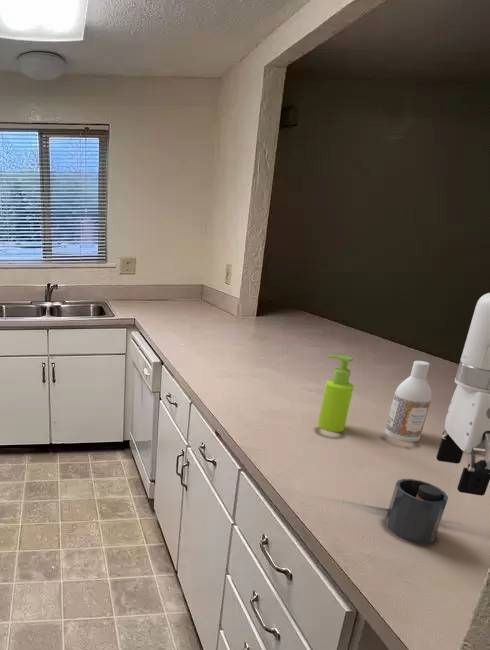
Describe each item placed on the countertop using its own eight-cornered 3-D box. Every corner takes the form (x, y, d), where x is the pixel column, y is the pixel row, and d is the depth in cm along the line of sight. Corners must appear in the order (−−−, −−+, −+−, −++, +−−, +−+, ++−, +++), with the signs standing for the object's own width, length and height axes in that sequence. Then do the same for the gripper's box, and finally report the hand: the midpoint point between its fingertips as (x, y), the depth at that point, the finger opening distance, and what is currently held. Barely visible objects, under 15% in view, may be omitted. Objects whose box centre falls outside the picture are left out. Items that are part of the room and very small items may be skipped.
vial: (431, 536, 73) (409, 532, 74) (426, 525, 76) (405, 521, 77) (444, 496, 70) (422, 492, 71) (438, 486, 73) (417, 482, 74)
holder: (427, 521, 77) (439, 483, 75) (440, 547, 71) (454, 507, 69) (381, 512, 80) (391, 475, 77) (390, 536, 74) (402, 497, 71)
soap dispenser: (319, 423, 115) (334, 351, 108) (347, 432, 110) (364, 357, 103) (308, 429, 112) (322, 355, 105) (336, 439, 107) (352, 362, 100)
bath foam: (394, 446, 103) (416, 367, 96) (377, 433, 109) (396, 357, 103) (424, 447, 103) (448, 367, 96) (405, 433, 109) (427, 358, 102)
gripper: (555, 401, 55) (513, 513, 61) (495, 362, 70) (466, 454, 76) (482, 394, 58) (448, 501, 64) (439, 358, 73) (415, 447, 79)
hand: (458, 476), depth 70 cm, fingers open, 9 cm apart
